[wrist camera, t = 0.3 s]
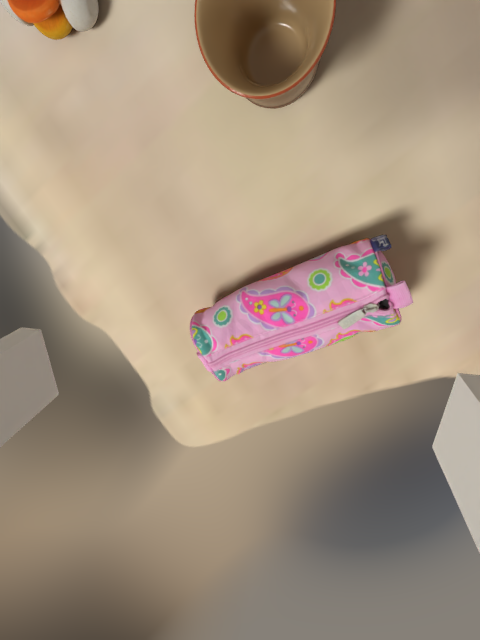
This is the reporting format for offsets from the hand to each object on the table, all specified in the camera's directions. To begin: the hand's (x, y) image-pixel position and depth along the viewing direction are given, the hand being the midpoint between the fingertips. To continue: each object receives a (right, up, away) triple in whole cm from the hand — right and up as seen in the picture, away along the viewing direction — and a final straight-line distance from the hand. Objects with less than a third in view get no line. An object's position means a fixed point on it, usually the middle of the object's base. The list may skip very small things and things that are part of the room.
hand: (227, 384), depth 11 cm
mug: (+3, +27, +18) cm, 32 cm away
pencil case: (+7, +5, +28) cm, 29 cm away
